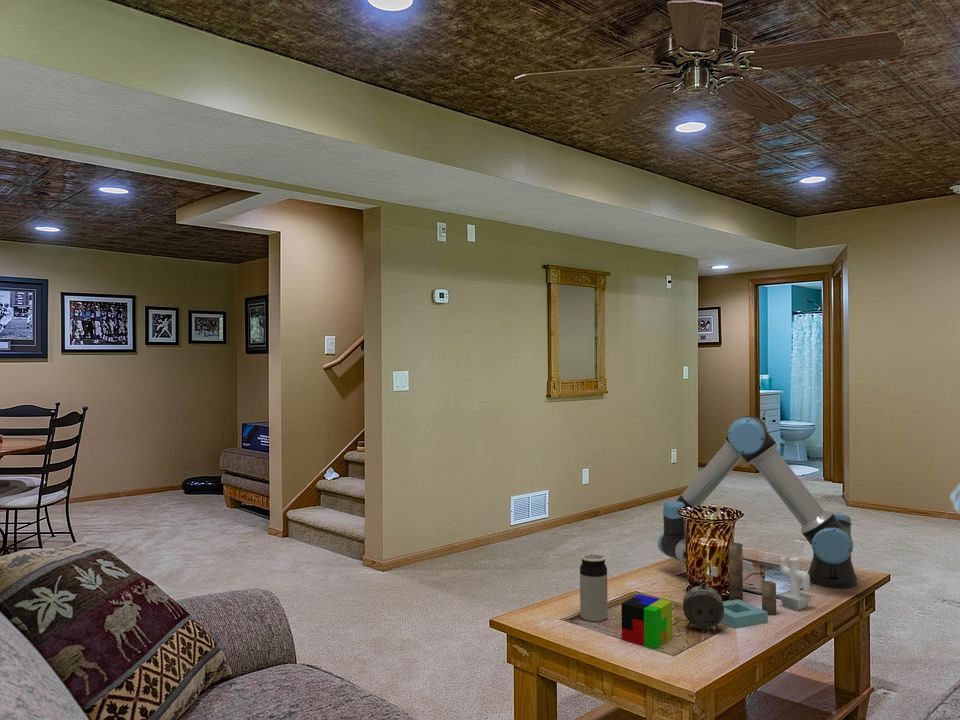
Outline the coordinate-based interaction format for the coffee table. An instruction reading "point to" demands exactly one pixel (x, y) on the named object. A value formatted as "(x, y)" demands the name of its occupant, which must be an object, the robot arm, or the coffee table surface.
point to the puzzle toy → (646, 621)
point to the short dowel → (769, 597)
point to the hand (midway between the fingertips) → (734, 570)
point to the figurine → (794, 584)
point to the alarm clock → (703, 606)
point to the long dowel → (735, 572)
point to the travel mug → (593, 588)
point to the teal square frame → (742, 614)
